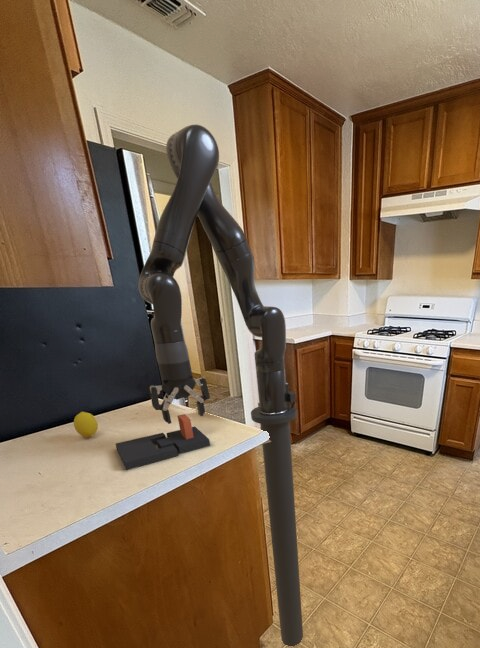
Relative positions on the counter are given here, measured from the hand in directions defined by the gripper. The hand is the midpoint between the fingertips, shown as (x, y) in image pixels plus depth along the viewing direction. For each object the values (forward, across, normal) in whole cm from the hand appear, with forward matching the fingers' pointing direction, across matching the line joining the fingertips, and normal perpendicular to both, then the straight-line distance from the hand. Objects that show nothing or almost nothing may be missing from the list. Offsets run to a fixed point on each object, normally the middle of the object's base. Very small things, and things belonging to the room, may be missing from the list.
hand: (185, 419), depth 95 cm
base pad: (+7, -11, 0) cm, 13 cm away
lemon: (+7, -22, +22) cm, 32 cm away
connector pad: (+7, -2, 0) cm, 7 cm away
